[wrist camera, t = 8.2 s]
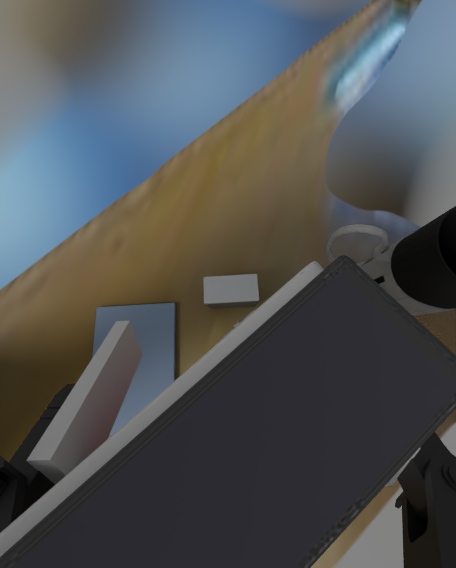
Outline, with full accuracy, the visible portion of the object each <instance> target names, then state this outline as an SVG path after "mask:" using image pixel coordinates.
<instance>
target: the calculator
mask: <svg viewBox="0 0 456 568" xmlns="http://www.w3.org/2000/svg"><path fill="white" fill-rule="evenodd" d="M218 342H219V343H217V344H216V345H215V346H214V347H213V348H212V349H210V350H209V351H208V352H207V353H206V354H205V355H204V356H202V357H201V358H200V359H199V360H198V361H197V362H196V363H194V364H193V365H192V366H191V367H190V368H189V369H188V370H186V371H185V372H184V373H183V374H182V375H181V376H180V377H178V378H177V379H176V380H175V381H174V382H173V383H172V384H170V385H169V386H168V387H167V388H166V389H165V390H164V391H162V392H161V393H160V394H159V395H158V396H157V397H155V398H154V399H153V400H152V401H151V402H150V403H149V404H147V405H146V406H145V407H144V408H143V409H142V410H141V411H139V412H138V413H137V414H136V415H135V416H134V417H133V418H131V419H130V420H129V421H128V422H127V423H126V424H125V425H123V426H122V427H121V428H120V429H119V430H118V431H117V432H115V433H114V434H113V435H112V436H111V437H110V438H109V439H107V440H106V441H105V442H104V443H103V444H102V445H100V446H99V447H98V448H97V449H96V450H95V451H94V452H92V453H91V454H90V455H89V456H88V457H87V458H86V459H84V460H83V461H82V462H81V463H80V464H79V465H78V466H76V467H75V468H74V469H73V470H72V471H71V472H70V473H68V474H67V475H66V476H65V477H64V478H63V479H62V480H60V481H59V482H58V483H57V484H56V485H55V486H54V487H52V488H51V489H50V490H49V491H48V492H47V493H45V494H44V495H43V496H42V497H41V498H40V499H39V500H37V501H36V502H35V503H34V504H33V505H32V506H31V507H29V508H28V509H27V510H26V511H25V512H24V513H23V514H21V515H20V516H19V517H18V518H17V519H16V520H15V521H13V522H12V523H11V524H10V525H9V526H8V527H7V528H5V529H4V530H3V531H2V532H1V533H0V568H310V567H311V566H312V565H313V564H314V563H315V562H316V561H317V560H318V559H319V557H320V556H321V555H322V554H323V553H324V552H325V551H326V550H327V549H328V548H329V547H330V545H331V544H332V543H333V542H334V541H335V540H336V539H337V538H338V537H339V536H340V534H341V533H342V532H343V531H344V530H345V529H346V528H347V527H348V526H349V525H350V524H351V522H352V521H353V520H354V519H355V518H356V517H357V516H358V515H359V514H360V513H361V511H362V510H363V509H364V508H365V507H366V506H367V505H368V504H369V503H370V502H371V501H372V499H373V498H374V497H375V496H376V495H377V494H378V493H379V492H380V491H381V490H382V488H383V487H384V486H385V485H386V484H387V483H388V482H389V481H390V480H391V479H392V477H393V476H394V475H395V474H396V473H397V472H398V471H399V470H400V469H401V468H402V467H403V465H404V464H405V463H406V462H407V461H408V460H409V459H410V458H411V457H412V456H413V454H414V453H415V452H416V451H417V450H418V449H419V448H420V447H421V446H422V445H423V444H424V442H425V441H426V440H427V439H428V438H429V437H430V436H431V435H432V434H433V433H434V431H435V430H436V429H437V428H438V427H439V426H440V425H441V424H442V423H443V422H444V420H445V419H446V418H447V417H448V416H449V415H450V414H451V413H452V412H453V411H454V410H455V408H456V356H455V355H454V354H453V353H452V352H451V351H450V350H449V349H448V348H447V347H446V346H445V345H443V344H442V343H441V342H440V341H439V340H438V339H437V338H436V337H435V336H434V335H433V334H432V333H431V332H429V331H428V330H427V329H426V328H425V327H424V326H423V325H422V324H421V323H420V322H419V321H418V320H417V319H415V318H414V317H413V316H412V315H411V314H410V313H409V312H408V311H407V310H406V309H405V308H404V307H403V306H401V305H400V304H399V303H398V302H397V301H396V300H395V299H394V298H393V297H392V296H391V295H390V294H388V293H387V292H386V291H385V290H384V289H383V288H382V287H381V286H380V285H379V284H378V283H377V282H376V281H374V280H373V279H372V278H371V277H370V276H369V275H368V274H367V273H366V272H365V271H363V270H362V269H361V268H360V267H359V266H358V265H357V264H356V263H355V262H354V261H352V260H351V259H350V258H349V257H347V256H340V257H338V258H337V259H336V260H334V261H333V262H332V263H331V264H330V265H329V266H327V267H326V268H325V269H324V268H323V267H322V266H321V265H320V264H319V263H318V262H317V261H313V262H311V263H310V264H308V265H307V266H306V267H304V268H303V269H302V270H301V271H300V272H299V273H298V274H296V275H295V276H294V277H293V278H292V279H291V280H290V281H288V282H287V283H286V284H285V285H284V286H283V287H282V288H280V289H279V290H278V291H277V292H276V293H275V294H274V295H272V296H271V297H270V298H269V299H268V300H267V301H265V302H264V303H263V304H262V305H261V306H260V307H259V308H257V309H256V310H253V311H252V312H251V313H250V314H249V315H247V316H246V317H245V318H244V319H243V320H242V321H241V322H237V323H236V324H235V325H234V328H233V329H231V330H230V331H229V332H228V333H227V334H226V335H225V336H223V337H222V338H221V339H220V340H219V341H218Z"/></svg>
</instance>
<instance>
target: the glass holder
mask: <svg viewBox="0 0 456 568" xmlns="http://www.w3.org/2000/svg"><path fill="white" fill-rule="evenodd" d="M356 232H357V233H367V234H372V235H375V236H377V237H378V238H380V239H381V240H382V242H381V243H380V244H379V245H378V246H376V247H375V248H374V250H373V257H371V258H370V259H368V260H367V261H362V262H359V263H356V264H357V265H358V266H359V267H360V268H361V269H362V270H363V271H365V272H366V273H367V274H368V275H369V276H370V277H371V278H372V279H373V280H374V281H376V282H377V283H378V284H379V285H380V286H381V287H382V288H383V289H384V290H385V291H386V292H387V293H388V294H390V295H391V296H392V297H393V298H394V299H395V300H396V301H397V302H398V303H399V304H400V305H401V306H403V307H404V308H405V309H406V310H407V311H408V312H409V313H410V314H411V315H412V316H416V315H423V314H430V313H437V312H444V311H451V310H456V206H455V207H454V208H452V209H450V210H449V211H447V212H445V213H444V214H442V215H441V216H439V217H438V218H436V219H434V220H433V221H431V222H430V223H428V224H426V225H425V226H423V227H422V228H420V229H418V230H417V231H415V232H412V233H409V234H408V235H406V236H404V237H402V238H401V239H399V240H398V241H396V242H395V243H393V244H391V245H390V246H388V247H387V248H386V246H387V244H388V240H389V238H388V235H387V233H386V232H385V231H384V230H383V229H381V228H379V227H376V226H372V225H364V224H354V225H347V226H344V227H341V228H339V229H338V230H336V231H335V232H334V233H333V234H332V236H331V237H330V238H329V240H328V242H327V247H326V254H327V258H328V260H329V262H330V263H332V262H333V261H334V260H336V259H335V257H334V256H333V255H332V252H331V248H330V247H331V244H332V243H333V241H334V240H335V239H336V238H338V237H339V236H341V235H344V234H346V233H356Z"/></svg>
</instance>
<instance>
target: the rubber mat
mask: <svg viewBox="0 0 456 568" xmlns="http://www.w3.org/2000/svg"><path fill="white" fill-rule="evenodd" d="M129 320H130V323H131V325H132V328H133V330H134V333H135V336H136V338H137V341H138V344H139V346H140V349H141V352H142V354H143V355H142V357H141V360H140V362H139V365H138V367H137V370H136V372H135V374H134V377H133V379H132V382H131V384H130V386H129V389H128V391H127V394H126V396H125V399H124V401H123V403H122V406H121V408H120V411H119V413H118V415H117V418H116V420H115V423H114V425H113V428H112V430H111V432H110V435H109V436H112V435H113V434H114V433H115V432H117V431H118V430H119V429H120V428H121V427H122V426H123V425H125V424H126V423H127V422H128V421H129V420H130V419H131V418H133V417H134V416H135V415H136V414H137V413H138V412H139V411H141V410H142V409H143V408H144V407H145V406H146V405H147V404H149V403H150V402H151V401H152V400H153V399H154V398H155V397H157V396H158V395H159V394H160V393H161V392H162V391H164V390H165V389H166V388H167V387H168V386H169V385H170V384H172V383H173V382H174V381H175V330H176V303H161V304H144V305H127V306H110V307H97V311H96V322H95V333H94V344H93V355H92V358H93V357H94V355H95V353H96V352H97V350H98V349H99V347H100V346H101V344H102V343H103V341H104V340H105V338H106V336H107V335H108V333H109V332H110V330H111V329H112V327H113V326H114V324H115V322H116V321H129Z"/></svg>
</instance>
